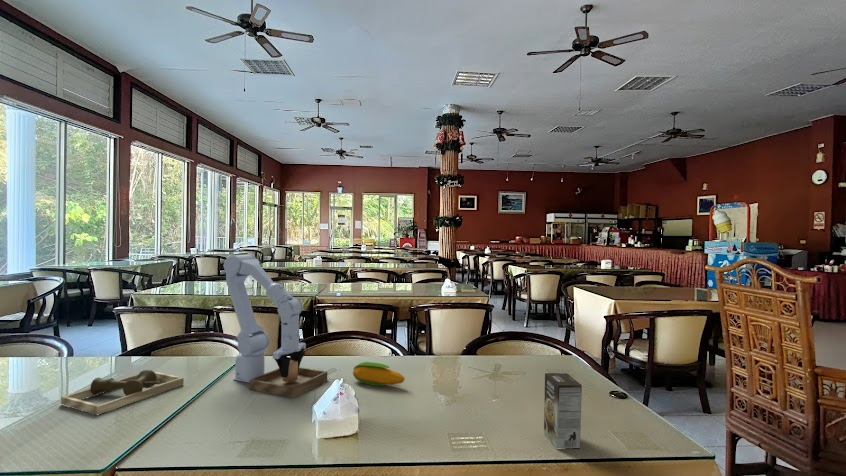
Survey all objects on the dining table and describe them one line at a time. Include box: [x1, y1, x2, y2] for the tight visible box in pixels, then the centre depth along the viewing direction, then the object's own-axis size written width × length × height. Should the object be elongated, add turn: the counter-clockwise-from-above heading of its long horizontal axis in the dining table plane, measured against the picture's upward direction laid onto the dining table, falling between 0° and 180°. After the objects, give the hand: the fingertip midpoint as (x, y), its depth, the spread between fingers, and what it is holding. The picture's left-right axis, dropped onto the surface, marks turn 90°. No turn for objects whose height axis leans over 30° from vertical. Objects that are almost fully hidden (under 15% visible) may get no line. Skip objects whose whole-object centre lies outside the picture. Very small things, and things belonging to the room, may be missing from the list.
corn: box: [352, 361, 405, 388], centre depth 152 cm, size 7×8×20 cm
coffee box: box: [543, 372, 583, 449], centre depth 113 cm, size 9×6×16 cm
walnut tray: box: [249, 366, 328, 399], centre depth 150 cm, size 18×18×3 cm
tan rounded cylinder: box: [282, 360, 298, 382], centre depth 150 cm, size 5×5×6 cm
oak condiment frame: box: [60, 370, 185, 415], centre depth 139 cm, size 17×27×2 cm, turn 157°
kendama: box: [89, 369, 162, 396], centre depth 139 cm, size 6×10×20 cm
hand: (289, 374), depth 150 cm, fingers closed on tan rounded cylinder, 5 cm apart
